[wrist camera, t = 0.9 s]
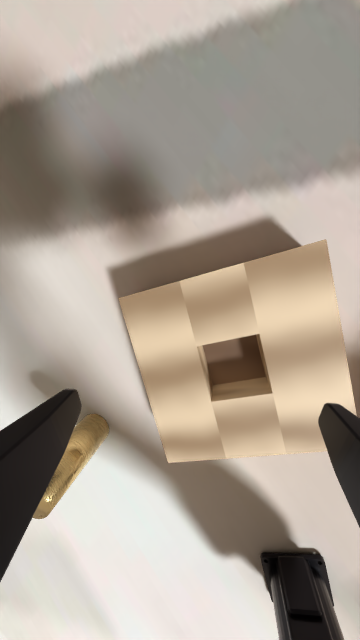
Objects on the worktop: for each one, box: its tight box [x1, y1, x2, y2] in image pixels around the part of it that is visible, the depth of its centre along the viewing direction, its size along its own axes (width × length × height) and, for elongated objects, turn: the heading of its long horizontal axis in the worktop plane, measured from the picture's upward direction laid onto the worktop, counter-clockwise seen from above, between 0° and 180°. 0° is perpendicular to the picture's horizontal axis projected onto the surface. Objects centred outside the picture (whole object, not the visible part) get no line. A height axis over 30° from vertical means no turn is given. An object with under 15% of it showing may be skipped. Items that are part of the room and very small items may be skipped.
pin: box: [32, 414, 109, 519], centre depth 22 cm, size 4×4×9 cm
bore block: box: [118, 239, 357, 463], centre depth 19 cm, size 16×16×4 cm
